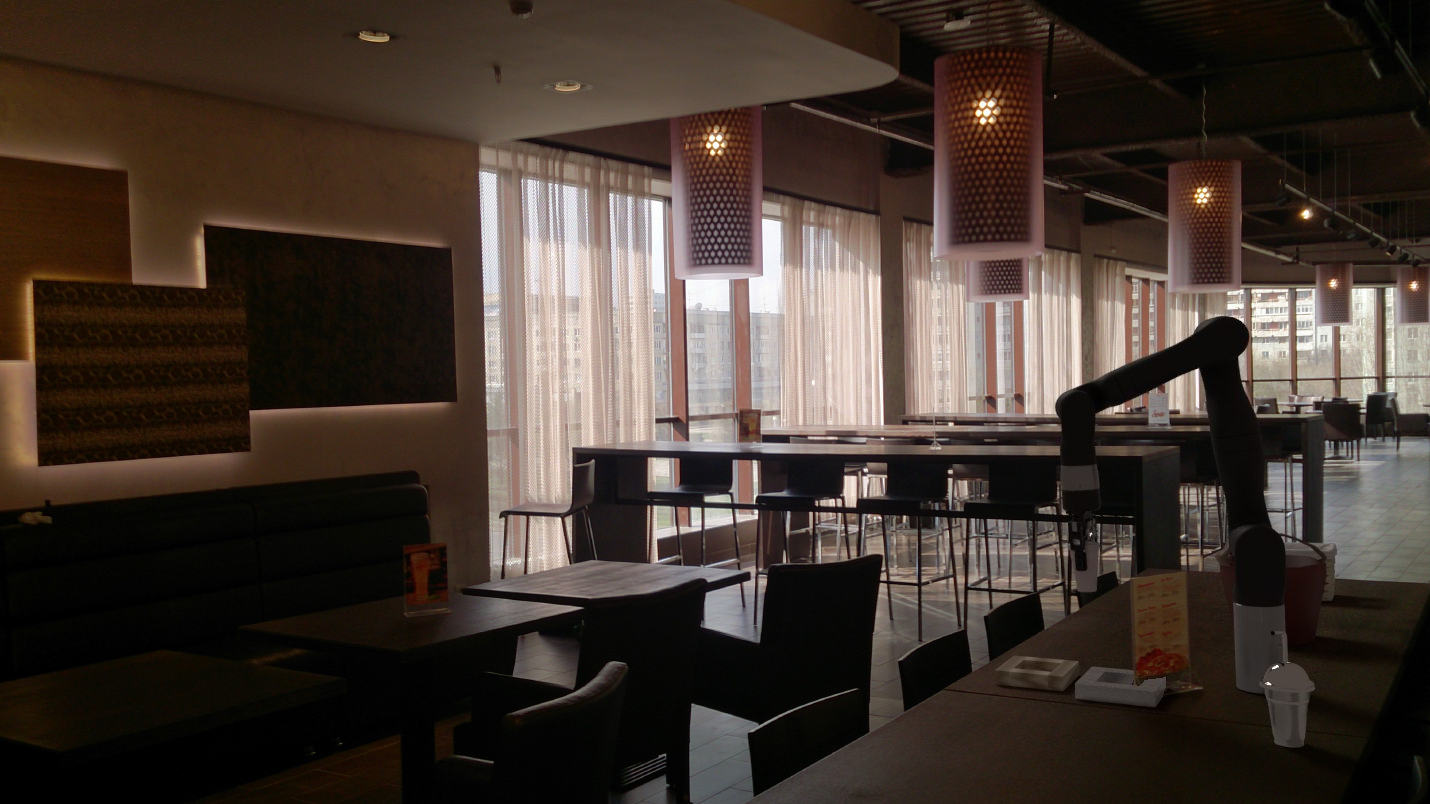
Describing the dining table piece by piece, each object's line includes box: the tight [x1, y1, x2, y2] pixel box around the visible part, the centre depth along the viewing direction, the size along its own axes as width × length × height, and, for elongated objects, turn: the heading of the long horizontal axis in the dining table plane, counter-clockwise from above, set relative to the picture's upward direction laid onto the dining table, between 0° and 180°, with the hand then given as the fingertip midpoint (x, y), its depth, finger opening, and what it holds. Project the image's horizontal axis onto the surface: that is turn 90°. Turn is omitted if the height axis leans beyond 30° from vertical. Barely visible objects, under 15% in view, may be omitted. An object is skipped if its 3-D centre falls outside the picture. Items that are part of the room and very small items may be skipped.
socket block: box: [994, 655, 1080, 692], centre depth 234 cm, size 14×14×3 cm
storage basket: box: [1284, 541, 1338, 602], centre depth 313 cm, size 24×16×15 cm
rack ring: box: [1074, 666, 1166, 708], centre depth 222 cm, size 15×15×3 cm
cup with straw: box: [1259, 631, 1316, 748], centre depth 188 cm, size 8×9×20 cm
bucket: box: [1214, 532, 1327, 646], centre depth 265 cm, size 24×22×25 cm
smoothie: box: [1067, 541, 1101, 593], centre depth 227 cm, size 6×6×14 cm
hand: (1085, 567), depth 227 cm, fingers closed on smoothie, 6 cm apart
